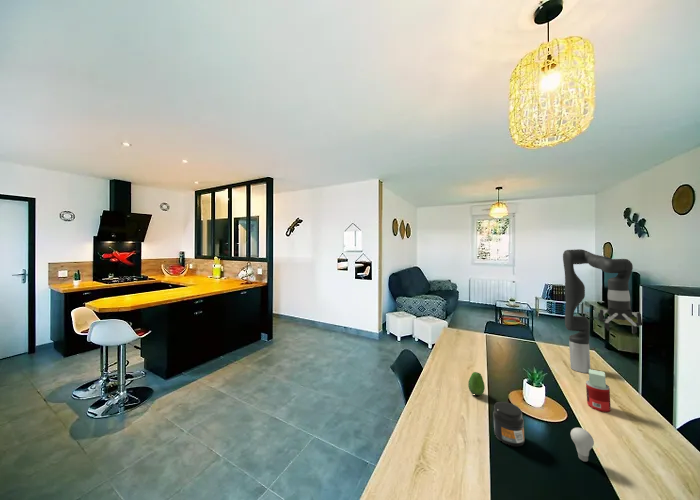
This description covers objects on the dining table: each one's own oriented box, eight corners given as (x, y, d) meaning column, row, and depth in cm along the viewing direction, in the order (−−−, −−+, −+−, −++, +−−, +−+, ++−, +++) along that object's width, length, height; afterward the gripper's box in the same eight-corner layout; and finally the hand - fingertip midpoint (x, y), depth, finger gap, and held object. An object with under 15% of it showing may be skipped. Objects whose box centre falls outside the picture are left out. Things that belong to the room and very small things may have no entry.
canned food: (615, 413, 113) (614, 389, 113) (595, 411, 115) (593, 387, 115) (602, 403, 121) (600, 380, 121) (583, 402, 122) (581, 379, 123)
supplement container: (525, 452, 93) (524, 419, 94) (493, 441, 99) (492, 411, 99) (524, 434, 102) (522, 405, 102) (494, 426, 108) (493, 398, 108)
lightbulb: (567, 454, 91) (565, 424, 92) (582, 453, 92) (580, 422, 92) (584, 468, 85) (582, 436, 86) (600, 466, 86) (598, 434, 86)
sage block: (589, 380, 122) (588, 368, 122) (605, 383, 118) (604, 372, 118) (589, 384, 118) (588, 372, 118) (606, 388, 114) (605, 376, 114)
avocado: (487, 399, 127) (486, 376, 127) (470, 398, 129) (469, 375, 129) (482, 391, 135) (481, 368, 135) (466, 390, 136) (465, 368, 137)
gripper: (639, 299, 121) (641, 332, 121) (598, 296, 131) (599, 327, 131) (642, 301, 116) (644, 336, 115) (598, 298, 125) (600, 331, 125)
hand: (620, 331), depth 123 cm, fingers open, 8 cm apart
